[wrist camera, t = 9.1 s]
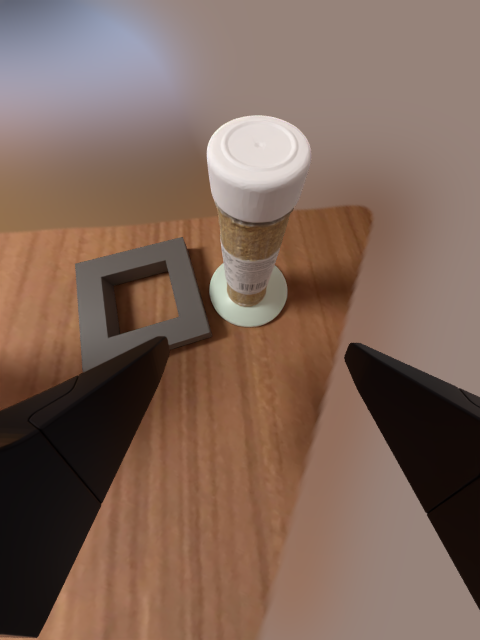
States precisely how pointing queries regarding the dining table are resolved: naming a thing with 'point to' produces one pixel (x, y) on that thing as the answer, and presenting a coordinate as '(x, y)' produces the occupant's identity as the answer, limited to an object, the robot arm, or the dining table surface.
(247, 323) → the coaster
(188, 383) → the dining table surface
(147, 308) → the dining table surface
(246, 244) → the sprinkles bottle
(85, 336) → the holder
